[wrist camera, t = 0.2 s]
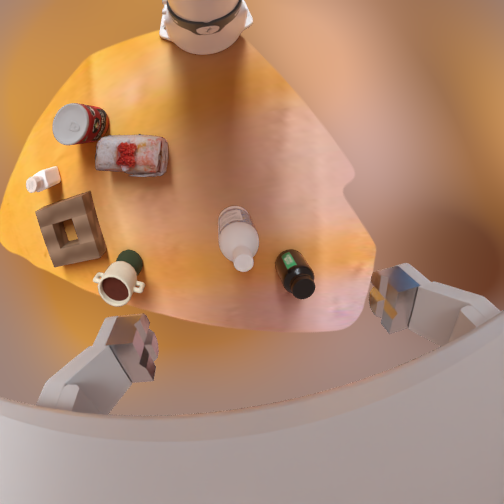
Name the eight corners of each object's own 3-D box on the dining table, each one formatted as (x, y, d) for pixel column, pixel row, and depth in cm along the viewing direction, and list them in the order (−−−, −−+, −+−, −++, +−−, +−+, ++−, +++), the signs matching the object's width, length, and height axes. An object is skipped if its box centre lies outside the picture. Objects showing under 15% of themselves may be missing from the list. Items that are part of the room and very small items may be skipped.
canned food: (106, 143, 47) (83, 147, 37) (75, 140, 45) (48, 143, 35) (113, 108, 44) (92, 103, 34) (82, 106, 42) (56, 102, 32)
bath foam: (248, 236, 59) (264, 284, 41) (216, 235, 58) (218, 283, 40) (252, 206, 57) (270, 242, 39) (218, 204, 56) (221, 239, 37)
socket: (45, 206, 49) (35, 211, 45) (90, 191, 50) (81, 195, 46) (62, 259, 55) (54, 267, 51) (107, 249, 56) (100, 257, 52)
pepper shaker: (45, 171, 46) (22, 179, 37) (58, 165, 46) (35, 172, 38) (50, 187, 48) (27, 197, 39) (62, 181, 48) (40, 190, 39)
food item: (172, 134, 48) (163, 134, 39) (169, 173, 52) (160, 181, 43) (110, 134, 46) (90, 135, 37) (108, 171, 49) (88, 180, 40)
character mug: (108, 269, 58) (89, 300, 46) (110, 242, 55) (88, 269, 44) (151, 279, 61) (139, 312, 49) (154, 252, 58) (141, 281, 46)
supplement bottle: (276, 248, 61) (289, 274, 51) (305, 248, 62) (323, 273, 52) (273, 275, 64) (285, 304, 53) (300, 274, 65) (316, 302, 54)
